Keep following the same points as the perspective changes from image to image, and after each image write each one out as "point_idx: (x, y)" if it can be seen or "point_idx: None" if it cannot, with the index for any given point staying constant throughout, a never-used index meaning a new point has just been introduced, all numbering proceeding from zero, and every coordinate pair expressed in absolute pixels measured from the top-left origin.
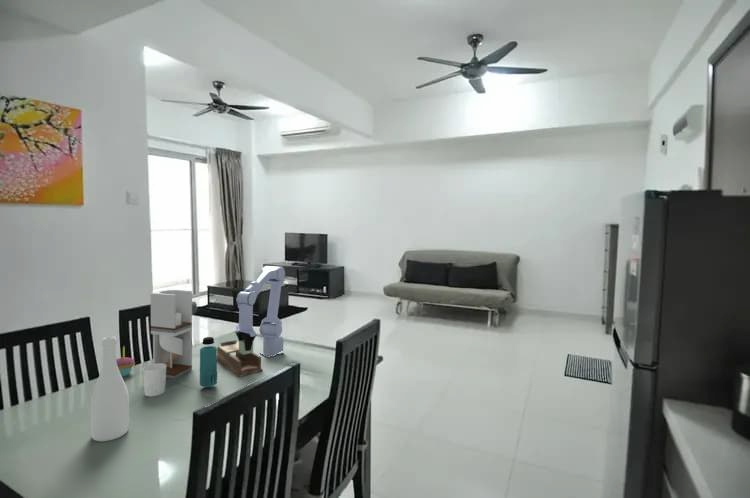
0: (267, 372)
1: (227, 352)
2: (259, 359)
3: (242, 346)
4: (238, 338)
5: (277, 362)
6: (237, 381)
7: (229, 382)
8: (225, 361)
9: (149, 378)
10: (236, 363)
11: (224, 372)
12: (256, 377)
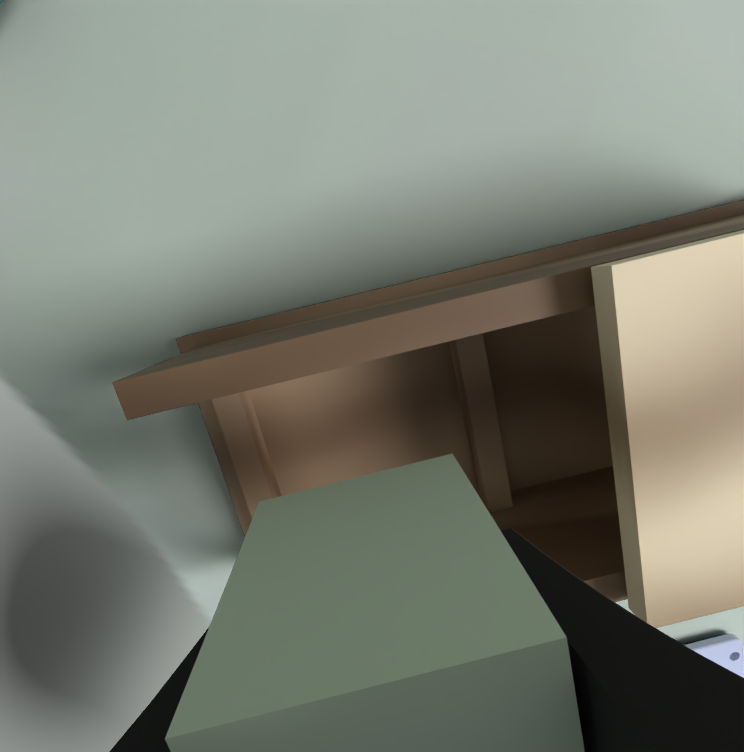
0: (207, 602)
1: (606, 265)
2: None
3: (271, 605)
4: (718, 708)
5: None
6: (62, 303)
7: (59, 217)
8: (581, 257)
9: None
10: (236, 347)
11: (384, 220)
12: (112, 492)
